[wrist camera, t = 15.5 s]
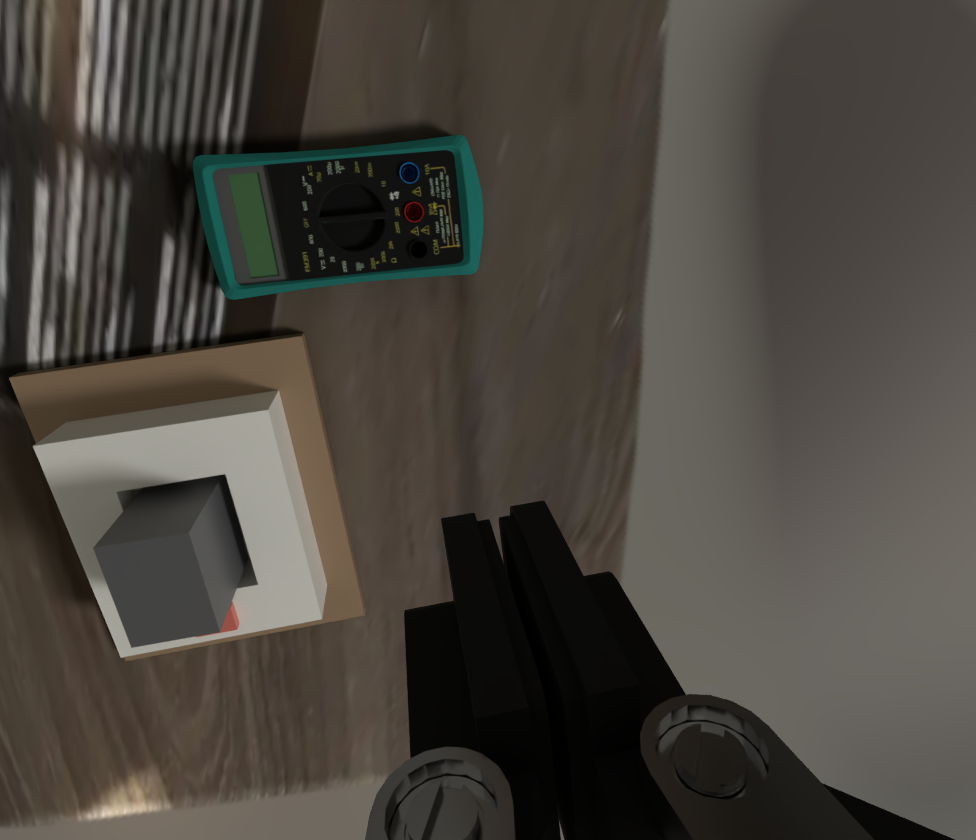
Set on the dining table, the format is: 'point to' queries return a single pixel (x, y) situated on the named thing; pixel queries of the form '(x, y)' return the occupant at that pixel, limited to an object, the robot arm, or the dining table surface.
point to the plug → (174, 560)
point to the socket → (204, 470)
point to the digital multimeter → (340, 215)
